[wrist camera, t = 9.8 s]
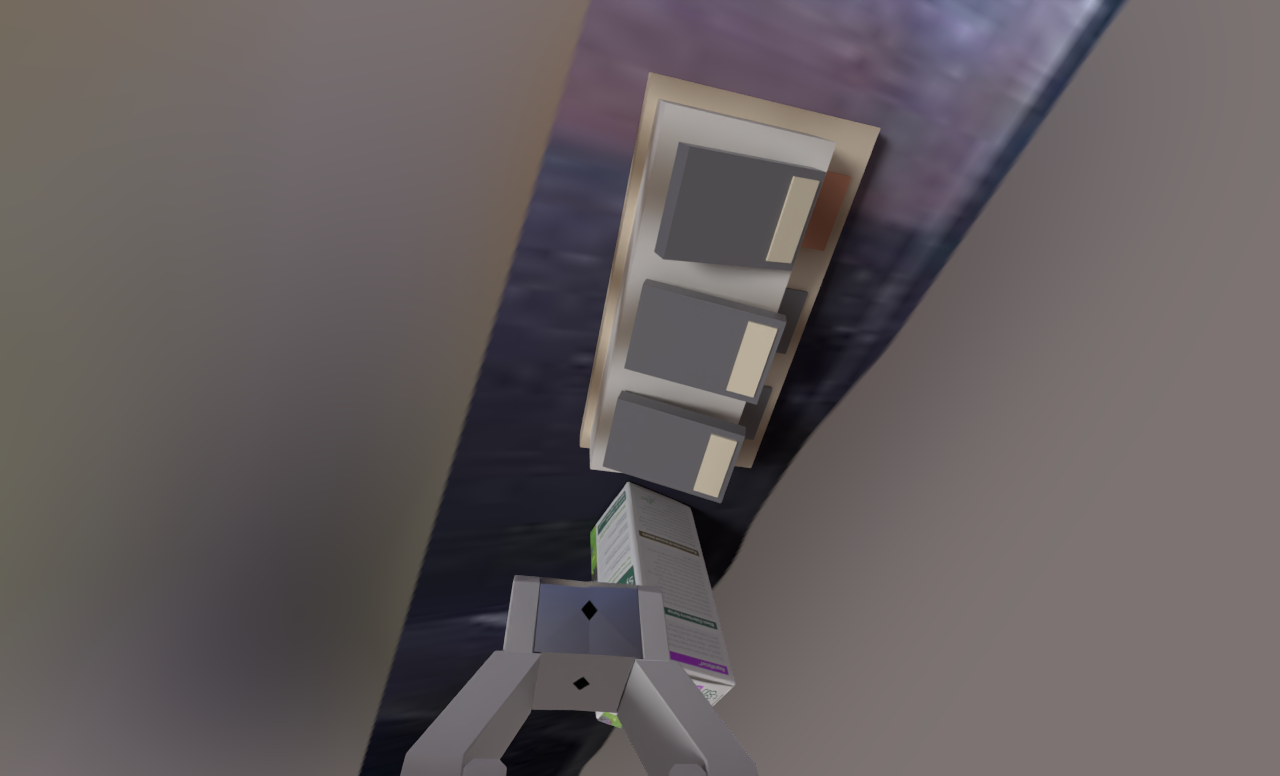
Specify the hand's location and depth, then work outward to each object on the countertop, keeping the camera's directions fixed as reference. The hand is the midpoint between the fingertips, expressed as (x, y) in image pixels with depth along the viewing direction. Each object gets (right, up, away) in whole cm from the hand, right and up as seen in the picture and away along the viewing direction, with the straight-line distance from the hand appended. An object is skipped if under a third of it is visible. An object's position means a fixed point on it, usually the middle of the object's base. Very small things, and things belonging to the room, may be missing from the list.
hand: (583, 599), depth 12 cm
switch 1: (+6, +12, +13) cm, 19 cm away
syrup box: (+1, -5, +31) cm, 32 cm away
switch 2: (+3, +1, +20) cm, 20 cm away
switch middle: (+4, +7, +17) cm, 18 cm away
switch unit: (+5, +10, +23) cm, 25 cm away
